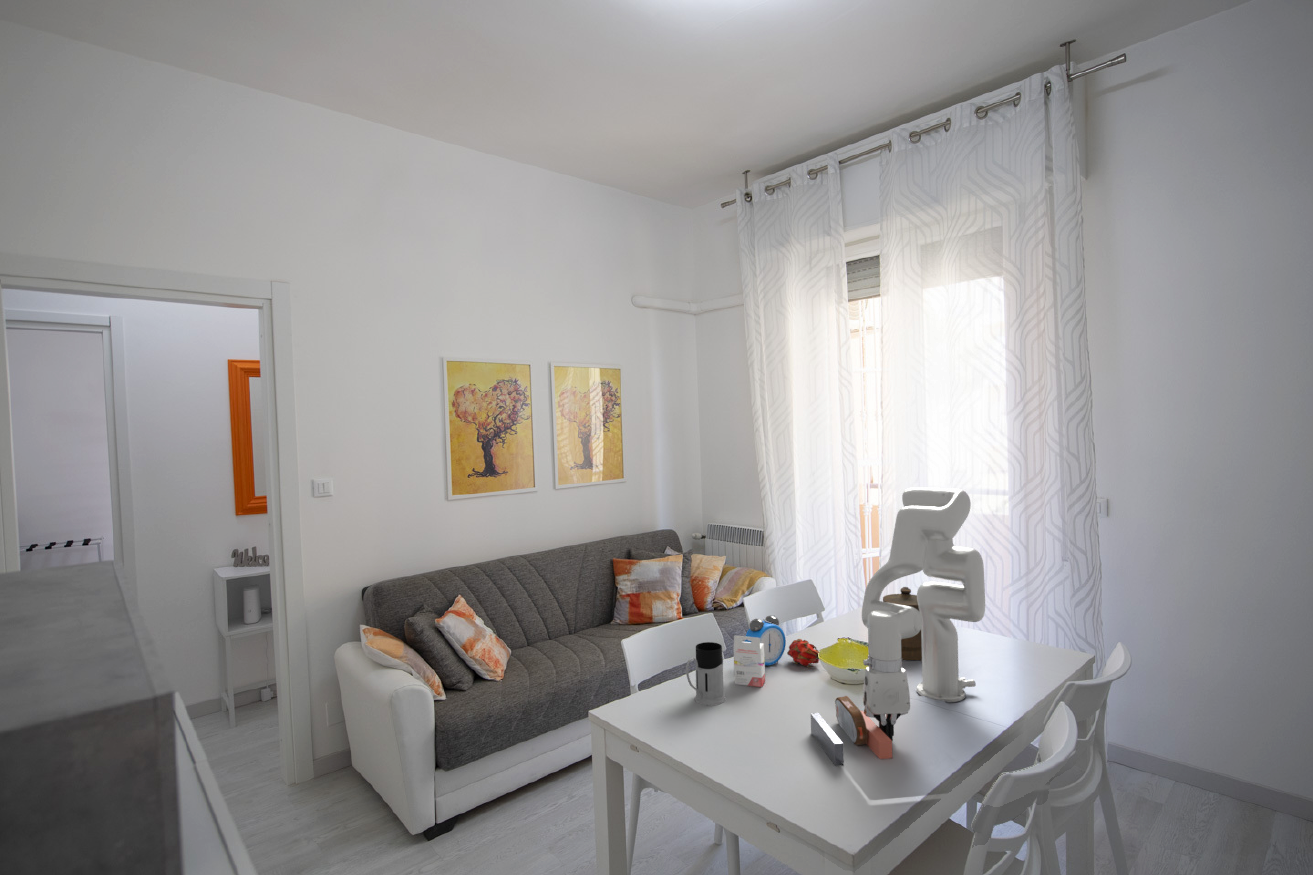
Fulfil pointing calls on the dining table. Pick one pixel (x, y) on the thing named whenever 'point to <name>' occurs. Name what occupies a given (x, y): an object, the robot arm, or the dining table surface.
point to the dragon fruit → (803, 652)
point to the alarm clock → (768, 638)
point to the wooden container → (912, 645)
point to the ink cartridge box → (749, 661)
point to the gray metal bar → (827, 739)
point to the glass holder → (708, 674)
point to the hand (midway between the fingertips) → (886, 738)
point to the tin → (851, 720)
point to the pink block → (877, 739)
